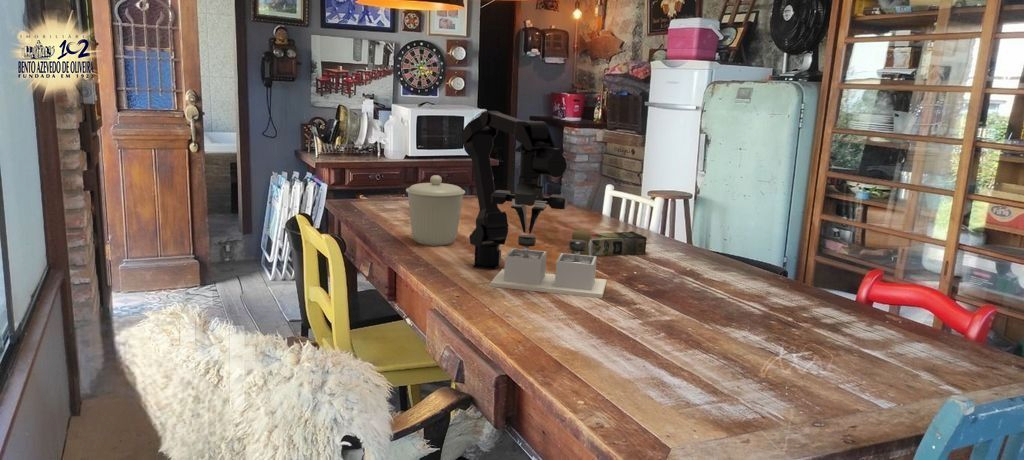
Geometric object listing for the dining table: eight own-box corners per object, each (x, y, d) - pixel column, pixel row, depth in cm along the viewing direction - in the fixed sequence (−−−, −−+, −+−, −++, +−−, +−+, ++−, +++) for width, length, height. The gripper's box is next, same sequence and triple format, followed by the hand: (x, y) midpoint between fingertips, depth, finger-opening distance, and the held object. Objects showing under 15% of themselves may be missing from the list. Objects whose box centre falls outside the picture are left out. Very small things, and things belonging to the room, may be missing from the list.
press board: (490, 286, 182) (491, 257, 181) (502, 272, 196) (503, 245, 194) (602, 298, 177) (604, 268, 176) (606, 283, 191) (608, 255, 189)
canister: (460, 250, 218) (463, 180, 214) (400, 247, 218) (401, 177, 214) (465, 237, 236) (468, 173, 231) (409, 234, 236) (411, 170, 231)
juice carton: (587, 257, 218) (589, 237, 217) (573, 250, 227) (575, 231, 226) (646, 256, 225) (648, 236, 224) (630, 249, 234) (632, 230, 233)
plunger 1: (510, 260, 184) (511, 238, 183) (515, 254, 190) (516, 232, 189) (536, 262, 182) (538, 240, 181) (541, 256, 189) (542, 235, 188)
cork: (588, 272, 200) (591, 233, 198) (566, 270, 201) (569, 231, 199) (590, 267, 206) (593, 229, 204) (569, 265, 207) (572, 227, 205)
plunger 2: (561, 265, 181) (562, 243, 180) (564, 259, 188) (566, 237, 187) (588, 267, 180) (590, 245, 179) (591, 261, 187) (592, 239, 185)
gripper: (487, 172, 176) (484, 235, 179) (563, 178, 172) (559, 242, 176) (497, 167, 186) (494, 227, 190) (569, 173, 183) (565, 233, 186)
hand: (527, 232), depth 185 cm, fingers closed
